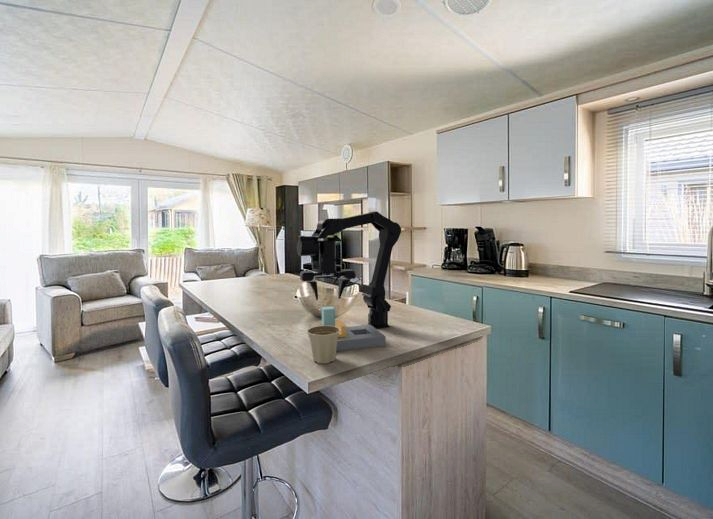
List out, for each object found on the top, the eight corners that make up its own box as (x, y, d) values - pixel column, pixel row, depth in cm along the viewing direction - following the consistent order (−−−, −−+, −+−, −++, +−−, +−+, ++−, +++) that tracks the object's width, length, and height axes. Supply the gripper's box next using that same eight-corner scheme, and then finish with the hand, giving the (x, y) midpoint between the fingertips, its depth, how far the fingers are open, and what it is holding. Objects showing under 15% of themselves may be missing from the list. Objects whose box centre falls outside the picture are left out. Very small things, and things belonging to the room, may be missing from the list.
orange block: (339, 329, 121) (339, 319, 121) (346, 336, 114) (346, 325, 113) (315, 332, 119) (315, 321, 118) (320, 339, 111) (320, 328, 111)
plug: (332, 330, 131) (332, 306, 130) (335, 334, 127) (335, 308, 126) (321, 332, 130) (321, 307, 129) (324, 335, 126) (323, 309, 125)
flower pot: (312, 368, 96) (312, 336, 96) (303, 356, 105) (302, 327, 104) (345, 363, 100) (345, 332, 99) (333, 352, 109) (333, 323, 108)
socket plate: (370, 333, 128) (370, 324, 128) (385, 345, 114) (385, 336, 114) (314, 338, 122) (314, 329, 122) (323, 352, 109) (322, 342, 108)
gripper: (347, 252, 136) (347, 293, 138) (297, 254, 131) (298, 296, 132) (355, 254, 126) (356, 299, 127) (301, 256, 120) (302, 303, 122)
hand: (328, 299), depth 127 cm, fingers open, 8 cm apart
